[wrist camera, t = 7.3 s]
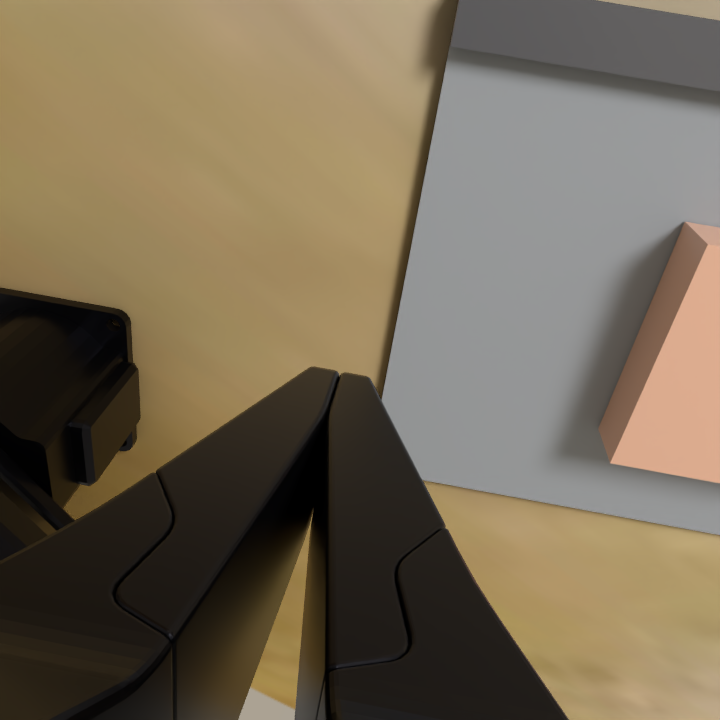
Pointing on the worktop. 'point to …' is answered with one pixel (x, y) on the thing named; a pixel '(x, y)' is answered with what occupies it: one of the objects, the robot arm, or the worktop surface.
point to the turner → (595, 38)
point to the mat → (546, 278)
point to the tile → (674, 370)
